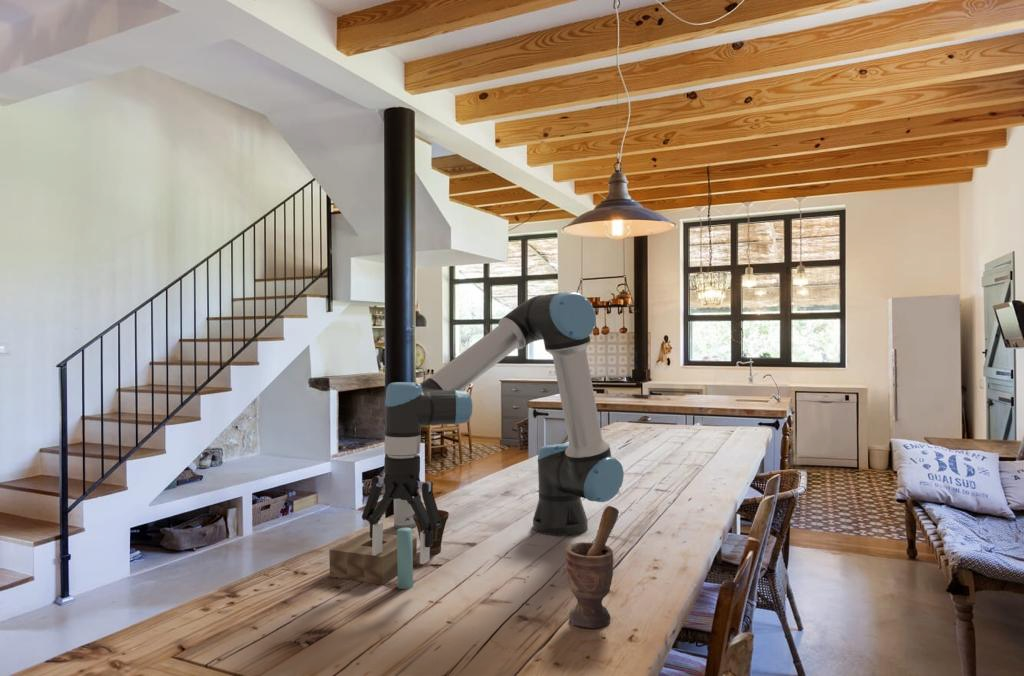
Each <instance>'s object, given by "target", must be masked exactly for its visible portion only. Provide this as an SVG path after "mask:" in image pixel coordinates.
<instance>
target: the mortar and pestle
mask: <svg viewBox="0 0 1024 676" xmlns="http://www.w3.org/2000/svg"><path fill="white" fill-rule="evenodd" d="M618 517H619V510H618V508H616V507H614V506H611V505H606V507H605V508H604V509H603V512H602V514H601V517H600V521H599V526H598V530H597V532H596V535H595V539H594V542H576V543H572V544H569V545H567V547H566V549H565V553H566V578H567V582H568V584H569V588H570V591H571V593H572V595H574V597H575V599H576V600H577V602H576V605H574V606H573V607H572V608H571V609H570V612H569V616H568V617H569V621H570V623H571V625H572V626H576V627H580V628H581V627H582V628H586V629H601V628H603V627H605V626H607V625H608V624H609V623H610V621H611V614H610V612H609V610H608V609H607V608H606V607H605V606H604V605H603V600H604V598H605V597H607V595H608V594H609V593H610V590H611V586H612V582H613V577H614V575H613V574H614V557H613V556H614V553H613V552H614V551H613V549H612V548H611V547H609V546H608V545H606V543H607V541H608V540H609V536H610V535H611V533H612V531H613V529H614V527H615V525H616V523H617V520H618Z"/></svg>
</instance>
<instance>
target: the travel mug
mask: <svg viewBox="0 0 1024 676" xmlns="http://www.w3.org/2000/svg"><path fill="white" fill-rule="evenodd" d="M412 498H414V496H413V497H412ZM413 514H415V512H414V510H413V509H412V507H411V505H410V504H409V503H408V502H407V500H401V499H393V527H394V528H395V529H400V528H411V529H413V528H415V527H417V526H416V524H415V521H414V519H413Z"/></svg>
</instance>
